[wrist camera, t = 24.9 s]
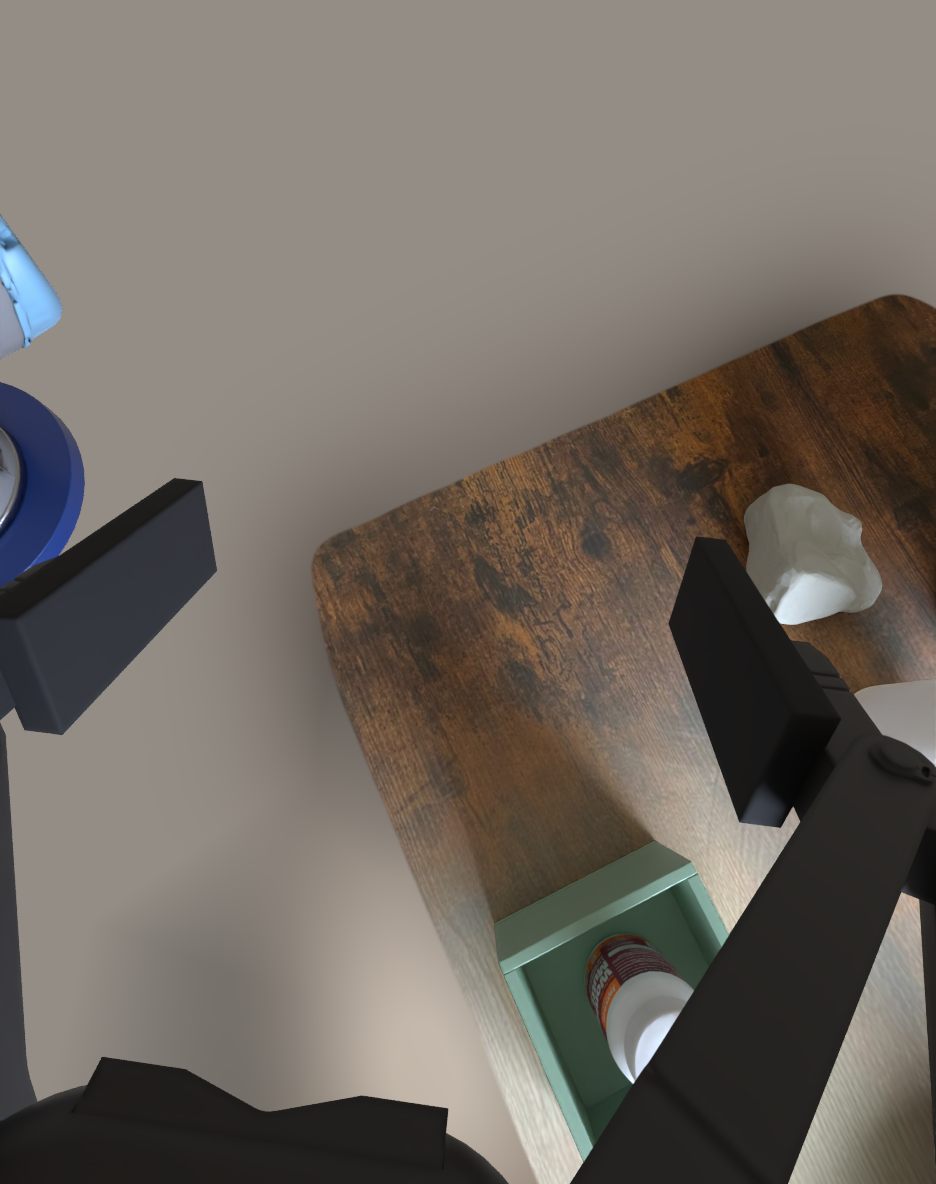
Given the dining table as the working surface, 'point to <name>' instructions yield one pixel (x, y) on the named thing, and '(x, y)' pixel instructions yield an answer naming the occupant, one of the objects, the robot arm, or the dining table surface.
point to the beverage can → (904, 713)
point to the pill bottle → (633, 998)
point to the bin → (558, 959)
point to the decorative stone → (807, 556)
